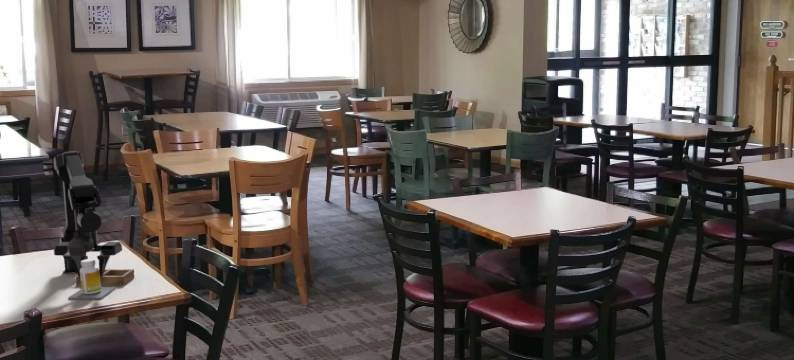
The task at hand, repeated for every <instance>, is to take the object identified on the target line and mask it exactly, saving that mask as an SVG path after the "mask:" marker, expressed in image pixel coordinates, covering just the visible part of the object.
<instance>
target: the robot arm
mask: <svg viewBox="0 0 794 360" xmlns="http://www.w3.org/2000/svg"><path fill="white" fill-rule="evenodd" d="M84 166H85V160H84V154H83V153H82V152H81V153H80V151H77V150H72V151H64V152H62V153H61V154H57V155H56V156H54V158H53V168H54V170H55V171H56V173H57V175H58V177H59V178H60V180H61V181H62V188H63V191H62V192H63V202H64V203H63V204H64V213H65V214H64V216H65V224H64V226H63V227H62V229H61V237H59V243H58V244H56V245H55V246H54V248H53V255H54V256H62V257H63V260H64V270H63V271H62V274H76V276H77V275H78V277H80V269H81V268H82V265H81V261H82V260H86V259H89V257H88V255H87V253H90V252H92V253H98V252H99V254H98V255H96V258H97V259H98V268H99V273H100V277H102V276H103V274H104V271H105V269H106V268H107V266H108V265H107V264H108V262H109V260H110V258H111V256H117V255H118V254H119V253H120V252H122V251H123V245H122V243H121V242H120V241H107V242H105V243H104V244H100V243H101V241H100V239H98V231H99V229H100V228H101V226H102V218H101V216H100V215H99V214H98V213H97V212H96V208H100V207H101V204H102V199H101V195H100V190H99V189H98V188H97V186H96V185H95V184H94V182H93V179H91V178H89V177H87V176H86V172H85V170H84Z"/></svg>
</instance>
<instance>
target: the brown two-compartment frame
mask: <svg viewBox="0 0 794 360" xmlns="http://www.w3.org/2000/svg"><path fill="white" fill-rule="evenodd" d="M99 276H100V273H99ZM134 279H135V269H133V268H131V269H129V268H128V269H126V268H125V269H124V268H123V269H121V268H120V269H118V268H116V269H115V268H114V269H113V268H112V269H111V268H110V269H109V268H107V269H106V268H105V271H104V274H103V276H102V277H100V283H101V286H125V285H127V284H128V283H130V282H131V281H132V280H134ZM75 284H76V286H81V278H80V277H78V275H77V274H76V276H75Z"/></svg>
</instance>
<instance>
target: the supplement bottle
mask: <svg viewBox="0 0 794 360" xmlns="http://www.w3.org/2000/svg"><path fill="white" fill-rule="evenodd" d="M81 265H82V268H81V269H80V278H81V285H80V286H81V289H82V292H83V294H94V293H97V292H100V291H101V287H102V285H101V283H100V276H99V266H97V265H96V259H95V258H88V259H86V260H82V261H81Z"/></svg>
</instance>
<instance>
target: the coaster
mask: <svg viewBox="0 0 794 360" xmlns="http://www.w3.org/2000/svg"><path fill="white" fill-rule="evenodd" d="M115 290H116V286H114V287H112V286H111V287H109V286H107V287H106V286H104V287H102V286H101V291H100V292H97V293H94V294H83V292H82V288H80V289H79V290H78V291H76V292H74V293H73V294H72V295H69V296H68V298H67V299H68V300H85V299H100V300H103V299H104V298H105V297H107V296H108V295H109V294H111V293H112V292H114V291H115ZM100 300H99V301H100Z"/></svg>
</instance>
